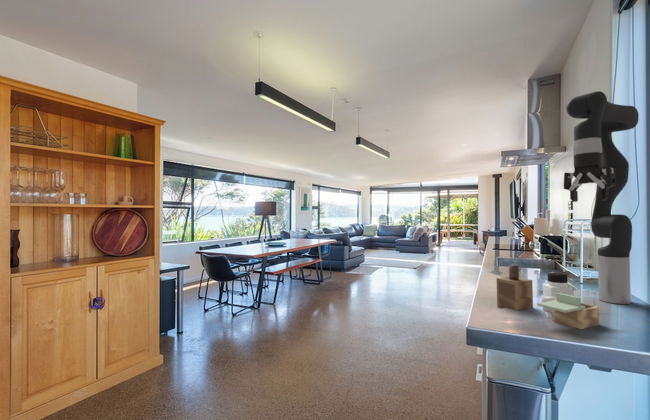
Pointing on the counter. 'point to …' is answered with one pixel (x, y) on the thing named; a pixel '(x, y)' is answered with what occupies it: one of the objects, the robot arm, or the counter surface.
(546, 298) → the white curved piece
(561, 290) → the medicine bottle
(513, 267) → the cover
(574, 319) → the oak box
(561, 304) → the lid
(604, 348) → the counter surface
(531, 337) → the counter surface
